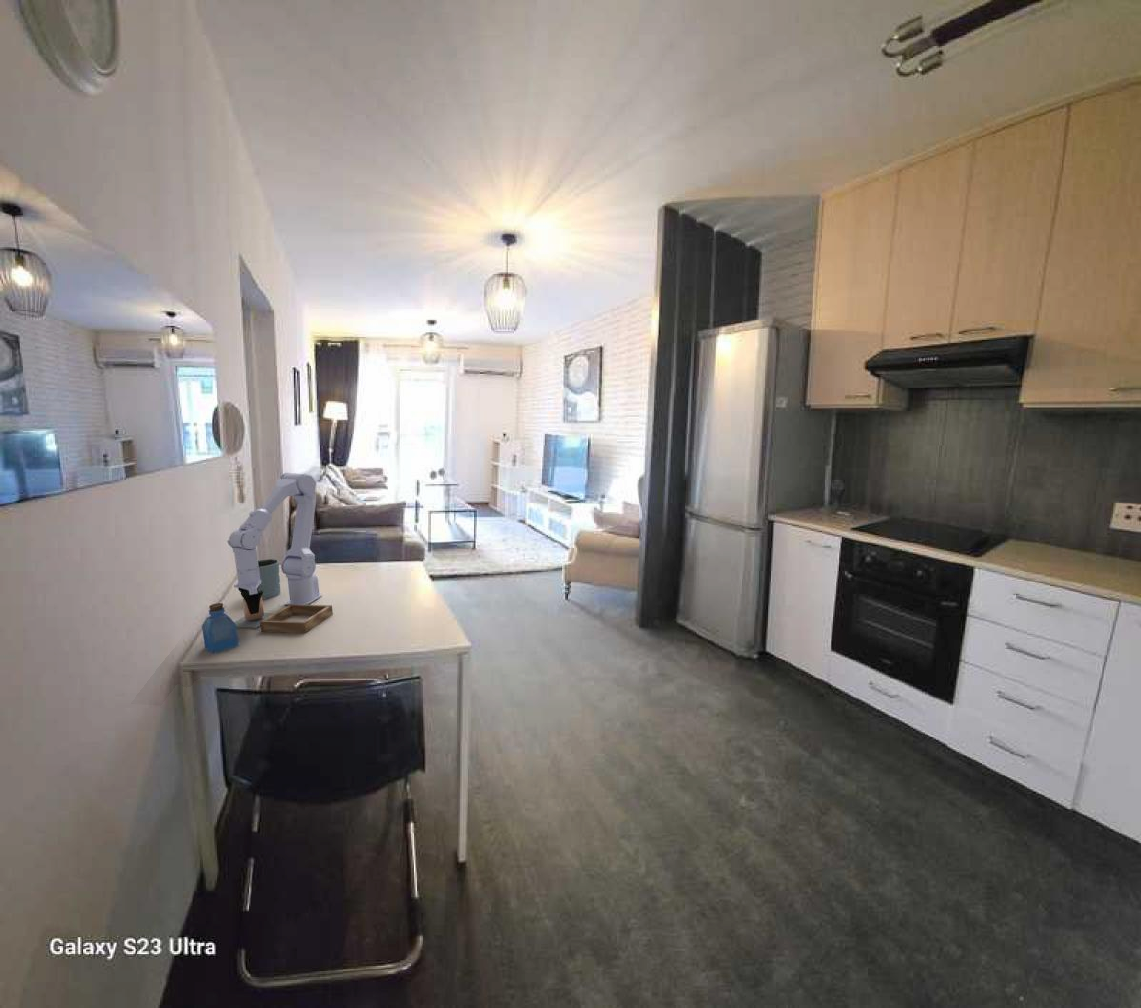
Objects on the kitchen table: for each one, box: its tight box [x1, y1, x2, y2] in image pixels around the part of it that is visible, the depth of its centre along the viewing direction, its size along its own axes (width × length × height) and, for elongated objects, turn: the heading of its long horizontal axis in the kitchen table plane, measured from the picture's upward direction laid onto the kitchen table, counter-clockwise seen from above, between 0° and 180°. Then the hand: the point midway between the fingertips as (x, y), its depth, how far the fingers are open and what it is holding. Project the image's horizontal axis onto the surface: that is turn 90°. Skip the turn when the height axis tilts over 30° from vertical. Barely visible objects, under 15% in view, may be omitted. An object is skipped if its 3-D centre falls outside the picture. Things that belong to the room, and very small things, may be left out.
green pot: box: [258, 558, 281, 600], centre depth 176 cm, size 10×10×12 cm
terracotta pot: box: [242, 596, 265, 620], centre depth 154 cm, size 5×5×6 cm
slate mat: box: [233, 612, 275, 630], centre depth 154 cm, size 11×10×1 cm
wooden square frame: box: [259, 604, 334, 634], centre depth 153 cm, size 14×14×3 cm
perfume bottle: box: [201, 602, 239, 654], centre depth 136 cm, size 6×6×12 cm
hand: (253, 610), depth 154 cm, fingers closed on terracotta pot, 5 cm apart
